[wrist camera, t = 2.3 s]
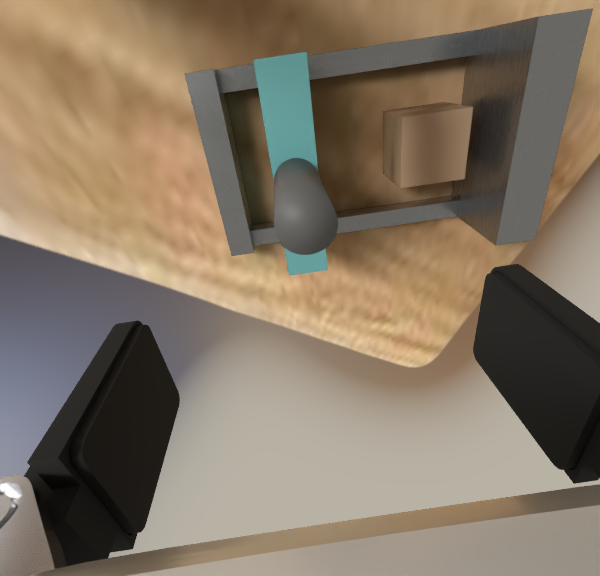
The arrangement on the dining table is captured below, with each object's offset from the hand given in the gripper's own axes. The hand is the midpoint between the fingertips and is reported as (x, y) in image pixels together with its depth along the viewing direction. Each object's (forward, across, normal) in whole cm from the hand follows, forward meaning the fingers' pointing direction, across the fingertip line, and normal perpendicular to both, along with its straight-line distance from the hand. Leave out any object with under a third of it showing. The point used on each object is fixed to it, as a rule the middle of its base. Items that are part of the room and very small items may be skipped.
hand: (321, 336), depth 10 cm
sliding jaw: (+22, 0, 0) cm, 22 cm away
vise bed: (+24, -6, 0) cm, 24 cm away
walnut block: (+24, -11, 0) cm, 26 cm away
